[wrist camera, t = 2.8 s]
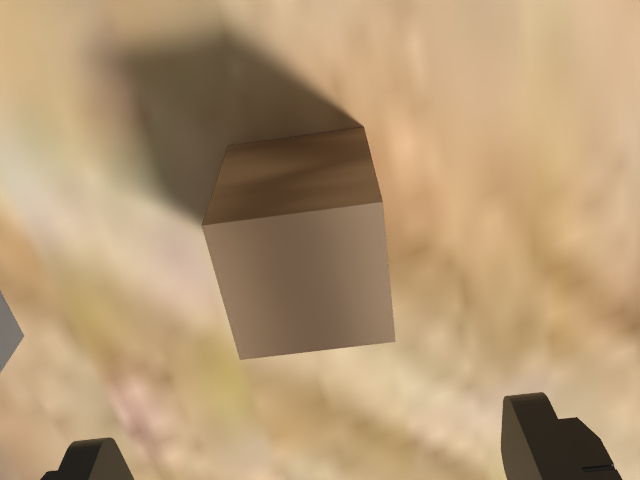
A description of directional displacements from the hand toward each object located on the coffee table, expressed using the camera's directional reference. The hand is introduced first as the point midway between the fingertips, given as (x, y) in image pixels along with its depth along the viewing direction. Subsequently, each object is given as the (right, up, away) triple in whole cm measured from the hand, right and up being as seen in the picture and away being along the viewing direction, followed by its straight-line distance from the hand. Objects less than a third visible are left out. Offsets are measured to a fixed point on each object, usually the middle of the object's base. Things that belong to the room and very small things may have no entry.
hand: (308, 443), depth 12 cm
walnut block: (0, +6, +10) cm, 12 cm away
